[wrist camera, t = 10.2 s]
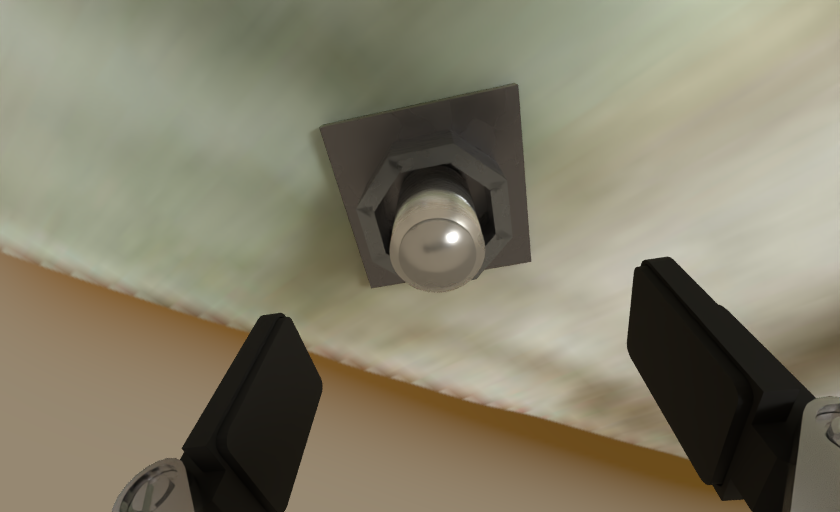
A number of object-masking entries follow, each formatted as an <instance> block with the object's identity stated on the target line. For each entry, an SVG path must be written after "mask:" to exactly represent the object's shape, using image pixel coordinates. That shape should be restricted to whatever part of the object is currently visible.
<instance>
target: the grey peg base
mask: <svg viewBox="0 0 840 512" xmlns="http://www.w3.org/2000/svg"><path fill="white" fill-rule="evenodd" d="M446 130H452V131H453V132H454V133H456V134H457V135H459V136H460V137H462V138H463V139H465V140H466V141H467V142H469V143H470V144H472V145H473V146H475V147H476V148H477V149H479V150H480V151H482V152H483V153H485V154H486V155H488V156H489V157H490V158H492V159H493V160H495V161H496V162H497V164H498V165H499V167H500V169H501V170H502V172H503V174H504V176H505V177H506V179H507V185H508V195H509V205H510V215H511V225H512V235H513V237H512V238H511V240H510V241H509V242H508V243H507V244H506V245H505V247H504V248H503V249H502V250H501V251H500V252H499V253H498V255H497V256H496V257H495V258H494V259H493V260H492V261H491V263H490V264H489V265H488V266H487V267H486V268H485V269H490V268H496V267H502V266H508V265H514V264H520V263H526V262H531V252H530V238H529V225H528V211H527V198H526V184H525V171H524V157H523V143H522V130H521V116H520V103H519V89H518V84H516V83H512V84H508V85H503V86H499V87H494V88H489V89H485V90H480V91H476V92H471V93H466V94H462V95H457V96H453V97H448V98H444V99H439V100H434V101H430V102H425V103H421V104H416V105H411V106H407V107H402V108H398V109H393V110H388V111H384V112H379V113H375V114H370V115H366V116H361V117H356V118H352V119H347V120H343V121H338V122H333V123H329V124H324V125H322V126H321V127H320V131H321V134H322V137H323V140H324V143H325V147H326V150H327V153H328V156H329V159H330V162H331V165H332V168H333V171H334V174H335V177H336V181H337V184H338V187H339V190H340V193H341V196H342V199H343V202H344V205H345V208H346V211H347V215H348V218H349V221H350V224H351V227H352V230H353V233H354V236H355V239H356V242H357V245H358V249H359V252H360V255H361V258H362V261H363V264H364V267H365V270H366V273H367V276H368V279H369V283H370V286H371V288H375V287H381V286H387V285H394V284H400V283H407V284H409V285H411V286H412V287H415V288H417V289H420V290H423V291H427V292H446V291H451V290H454V289H457V288H459V287H461V286H463V285H465V284H466V283H468V282H469V281H470V280H471V279H472V278H473V277H474V276H475V275H476V274H477V273H478V271H479V270H480V268H481V266H482V264H483V261H484V257H485V243H484V239H483V235H482V232H481V228H480V225H479V220H480V219H481V218H482V216H483V215H484V214H485V213H486V211H487V204H486V196H485V189H484V185H482V184H481V183H479V182H478V181H476V180H475V179H473V178H472V177H470V176H469V175H467V174H466V173H464V172H463V171H461V170H460V169H458V168H457V167H455V166H454V165H452V164H451V163H446V164H441V165H436V166H431V167H426V168H421V169H416V170H411V171H406V172H401V173H399V174H398V176H397V177H396V179H395V180H394V182H393V183H392V185H391V187H390V188H389V190H388V191H387V193H386V194H385V196H384V197H383V202H384V206H385V209H386V213H387V217H388V220H389V224H390V228H391V229H393V231H392V237H391V242H390V259H391V263H392V266H393V268H394V269H395V271H396V273H397V274H398V275H399V276H400V277H399V276H397V275H396V274H394V273H392V272H390V271H388V270H387V269H385V268H383V267H381V266H379V265H377V264H376V263H374V262H372V259H371V255H370V252H369V249H368V246H367V243H366V239H365V236H364V233H363V230H362V227H361V223H360V220H359V217H358V214H357V211H356V208H357V205H358V203H359V201H360V198H361V196H362V193H363V191H364V189H365V187H366V185H367V183H368V182H369V180H370V179H371V177H372V175H373V174H374V172H375V170H376V169H377V167H378V165H379V164H380V162H381V160H382V159H383V157H384V156H385V154H386V152H387V151H388V149H389V147H390V146H391V144H392V142H394V141H398V140H403V139H408V138H413V137H417V136H422V135H427V134H431V133H436V132H441V131H446Z"/></svg>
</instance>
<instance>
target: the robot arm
mask: <svg viewBox="0 0 840 512" xmlns="http://www.w3.org/2000/svg"><path fill="white" fill-rule="evenodd" d="M627 349H628V353H629V355H630V357H631V359H632V361H633V363H634V364H635V366H636V368H637V370H638V371H639V373H640V375H641V377H642V378H643V380H644V382H645V383H646V385H647V387H648V389H649V390H650V392H651V394H652V396H653V397H654V399H655V401H656V403H657V404H658V406H659V408H660V409H661V411H662V413H663V415H664V416H665V418H666V420H667V422H668V423H669V425H670V427H671V428H672V430H673V432H674V434H675V435H676V437H677V439H678V441H679V442H680V444H681V446H682V448H683V449H684V451H685V453H686V454H687V456H688V458H689V460H690V461H691V463H692V465H693V466H694V468H695V470H696V472H697V473H698V475H699V477H700V478H701V480H702V481H703V482H704V483H705V484H707V485H713V487H714V489H715V490H716V492H717V494H718V495H719V497H720V499H721V500H722V501H727V500H741V499H744V500H745V502H746V503H747V505H748V506H749V508H750V509H751V511H752V512H840V397H833V396H828V397H822V398H815V397H814V396H813V395H812V394H811V393H810V392H809V391H808V390H807V389H806V388H805V387H804V386H803V385H802V384H801V383H800V382H799V381H798V380H797V379H796V378H795V377H794V376H793V375H792V374H791V373H790V372H789V371H788V370H787V369H786V368H785V367H784V366H783V365H782V364H781V363H780V362H779V361H778V360H777V359H776V358H775V357H774V356H773V355H772V354H771V353H770V352H769V351H768V350H767V349H766V348H765V347H764V346H763V345H762V344H761V343H760V342H759V341H758V340H757V339H756V338H755V337H754V336H753V335H752V334H751V333H750V332H749V331H748V330H747V329H746V328H745V327H744V326H743V325H742V324H741V323H740V322H739V321H738V320H737V319H736V318H735V317H734V316H733V315H732V314H731V313H730V312H729V311H728V310H727V309H725V308H724V307H723V306H721V305H718V304H717V303H716V302H715V301H714V300H713V299H712V298H711V297H710V296H709V295H708V294H707V293H706V292H705V291H704V290H703V289H702V288H701V287H700V286H699V285H698V284H697V283H696V282H695V281H694V280H693V279H692V278H691V277H690V276H689V275H688V274H687V273H686V272H685V271H684V270H683V269H682V268H681V267H680V266H679V265H678V264H677V263H676V262H675V261H674V260H673V259H672V258H671V257H662V258H655V259H648V260H644V261H642V263H641V266H640V267H636V268H635V270H634V277H633V287H632V297H631V307H630V317H629V327H628V337H627ZM321 393H322V380H321V378H320V376H319V374H318V372H317V370H316V367H315V365H314V364H313V362H312V359H311V358H310V355H309V353H308V351H307V349H306V347H305V345H304V343H303V341H302V339H301V337H300V335H299V333H298V331H297V329H296V327H295V325H294V323H293V321H292V319H291V318H290V317H286V316H285V315H284V314H283V313H276V314H269V315H263V316H260V318H259V319H258V320H257V322H256V324H255V325H254V327H253V329H252V330H251V332H250V334H249V336H248V337H247V339H246V341H245V342H244V344H243V346H242V347H241V349H240V351H239V352H238V354H237V356H236V357H235V359H234V361H233V363H232V364H231V366H230V368H229V369H228V371H227V373H226V374H225V376H224V378H223V379H222V381H221V383H220V384H219V386H218V388H217V389H216V391H215V393H214V395H213V396H212V398H211V400H210V401H209V403H208V405H207V407H206V408H205V410H204V412H203V413H202V415H201V417H200V418H199V420H198V422H197V423H196V425H195V427H194V429H193V430H192V432H191V433H190V435H189V437H188V438H187V440H186V442H185V444H184V445H183V447H182V449H183V451H184V453H183V455H182V457H181V459H180V460H178V459H176V458H166V459H163V460H160V461H157V462H155V463H153V464H151V465H149V466H148V467H146V468H145V469H143V470H142V471H141V472H139V473H138V474H137V475H136V476H135V477H134V478H133V479H132V480H131V481H130V482H129V483H128V484H127V485H126V486H125V487H124V489H123V490H122V491H121V493H120V494H119V496H118V497H117V499H116V502H115V503H114V506H113V509H112V512H284V511H285V510H286V507H287V505H288V501H289V498H290V495H291V492H292V488H293V485H294V482H295V479H296V475H297V472H298V469H299V466H300V462H301V459H302V455H303V452H304V449H305V446H306V443H307V439H308V436H309V433H310V430H311V426H312V423H313V420H314V416H315V413H316V410H317V407H318V403H319V400H320V397H321Z"/></svg>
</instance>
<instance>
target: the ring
mask: <svg viewBox="0 0 840 512" xmlns="http://www.w3.org/2000/svg"><path fill="white" fill-rule="evenodd" d="M446 163H451V164H452V165H454V166H455V167H457V168H458V169H460V170H461V171H463V172H464V173H466V174H467V175H469V176H470V177H472V178H473V179H475V180H476V181H478V182H479V183H481V184H482V185H484V189H485V196H486V204H487V211H486V213H485V214H484V215H483V216H482V218H481V219H480V220H479V225H480V228H481V232H482V235H483V239H484V243H485V257H484V261H483V264H482V266H481V268H480V270H479V271H478V273H477V274H476V275H475V276H474V277H473V278H472V279H471V280H474V279H477V278H478V276H479V275H480V274H481V273H482V272H483V271H484V269H485V268H486V267H487V266H488V265H489V264H490V263H491V261H492V260H493V259H494V258H495V257H496V256H497V255H498V253H499V252H500V251H501V250H502V249H503V248H504V247H505V245H506V244H507V243H508V242H509V241H510V240H511V238H512V237H513V235H512V225H511V215H510V205H509V195H508V185H507V179H506V177H505V176H504V174H503V172H502V170H501V169H500V167H499V165H498V164H497V162H496V161H495V160H493V159H492V158H490V157H489V156H488V155H486V154H485V153H483V152H482V151H480V150H479V149H477V148H476V147H475V146H473V145H472V144H470V143H469V142H467V141H466V140H465V139H463V138H462V137H460V136H459V135H457V134H456V133H454V132H453V131H452V130H446V131H441V132H436V133H431V134H427V135H422V136H417V137H413V138H408V139H403V140H398V141H394V142H392V144H391V146H390V147H389V149H388V151H387V152H386V154H385V156H384V157H383V159H382V160H381V162H380V164H379V165H378V167H377V169H376V170H375V172H374V174H373V175H372V177H371V179H370V180H369V182H368V183H367V185H366V187H365V189H364V191H363V193H362V196H361V198H360V201H359V203H358V205H357V208H356V211H357V214H358V217H359V220H360V223H361V227H362V230H363V233H364V236H365V239H366V243H367V246H368V249H369V252H370V255H371V259H372V262H374V263H376V264H377V265H379V266H381V267H383V268H385V269H387V270H388V271H390V272H392V273H394V274H396V275H397V276H399V275H398V274H397V273H396V271H395V269H394V268H393V266H392V263H391V259H390V242H391V237H392V231H393V229H391V228H390V224H389V220H388V217H387V213H386V209H385V206H384V202H383V197H384V196H385V194H386V193H387V191H388V190H389V188H390V187H391V185H392V183H393V182H394V180H395V179H396V177H397V176H398V174H399V173H401V172H406V171H411V170H416V169H421V168H426V167H431V166H436V165H441V164H446ZM399 277H400V276H399Z"/></svg>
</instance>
